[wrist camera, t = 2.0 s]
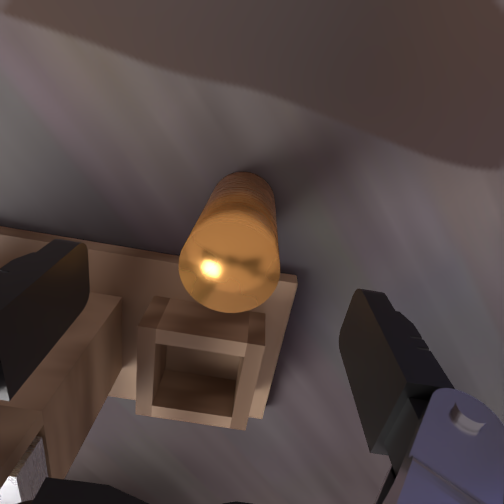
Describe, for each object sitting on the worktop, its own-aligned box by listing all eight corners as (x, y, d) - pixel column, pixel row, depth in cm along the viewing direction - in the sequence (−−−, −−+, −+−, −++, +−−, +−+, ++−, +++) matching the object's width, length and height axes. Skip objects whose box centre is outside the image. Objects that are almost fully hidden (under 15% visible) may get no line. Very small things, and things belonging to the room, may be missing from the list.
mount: (296, 275, 21) (327, 464, 10) (262, 407, 26) (259, 625, 15) (-55, 217, 20) (-416, 356, 9) (-19, 365, 25) (-226, 564, 15)
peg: (280, 177, 18) (289, 233, 11) (268, 237, 20) (269, 319, 13) (215, 166, 18) (182, 214, 11) (208, 227, 20) (175, 304, 13)
